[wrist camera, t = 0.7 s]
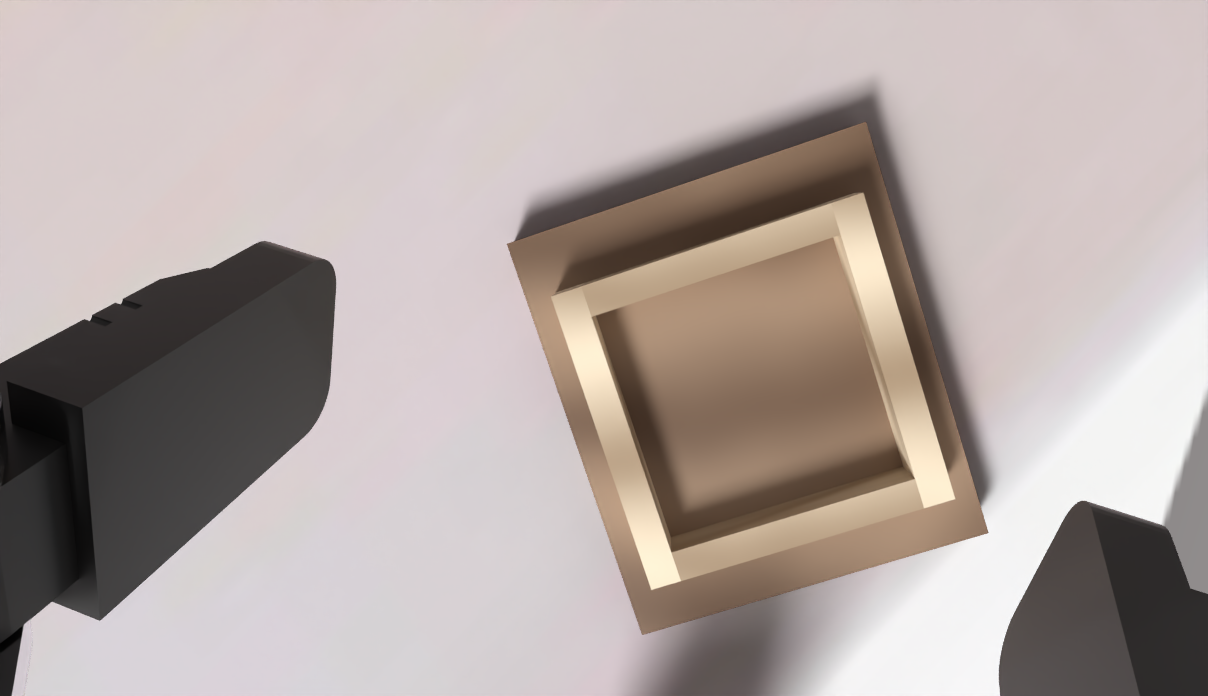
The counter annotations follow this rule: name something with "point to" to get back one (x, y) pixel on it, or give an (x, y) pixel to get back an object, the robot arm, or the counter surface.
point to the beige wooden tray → (751, 381)
